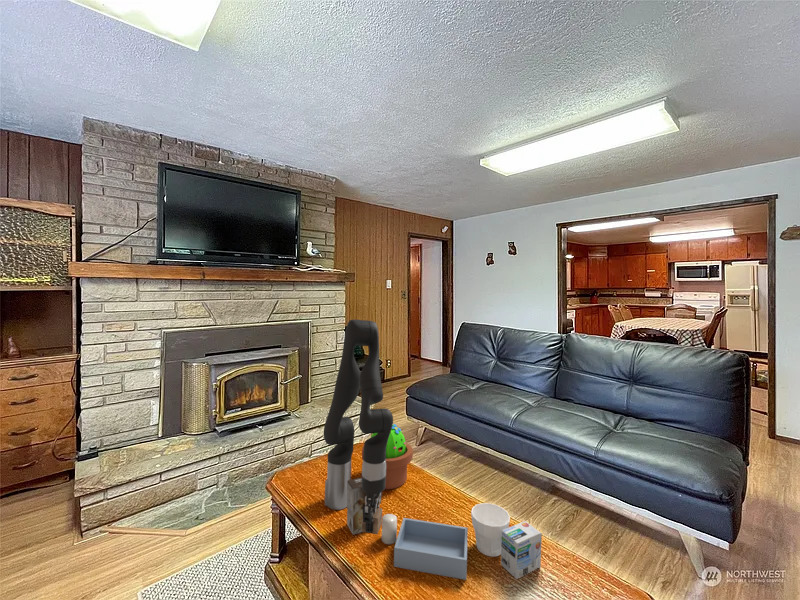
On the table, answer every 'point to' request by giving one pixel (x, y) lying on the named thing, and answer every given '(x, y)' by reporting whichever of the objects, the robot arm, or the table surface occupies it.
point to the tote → (432, 548)
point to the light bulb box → (521, 549)
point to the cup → (489, 527)
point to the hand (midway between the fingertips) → (371, 525)
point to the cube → (376, 522)
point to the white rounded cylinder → (389, 529)
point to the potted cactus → (396, 458)
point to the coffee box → (355, 505)
